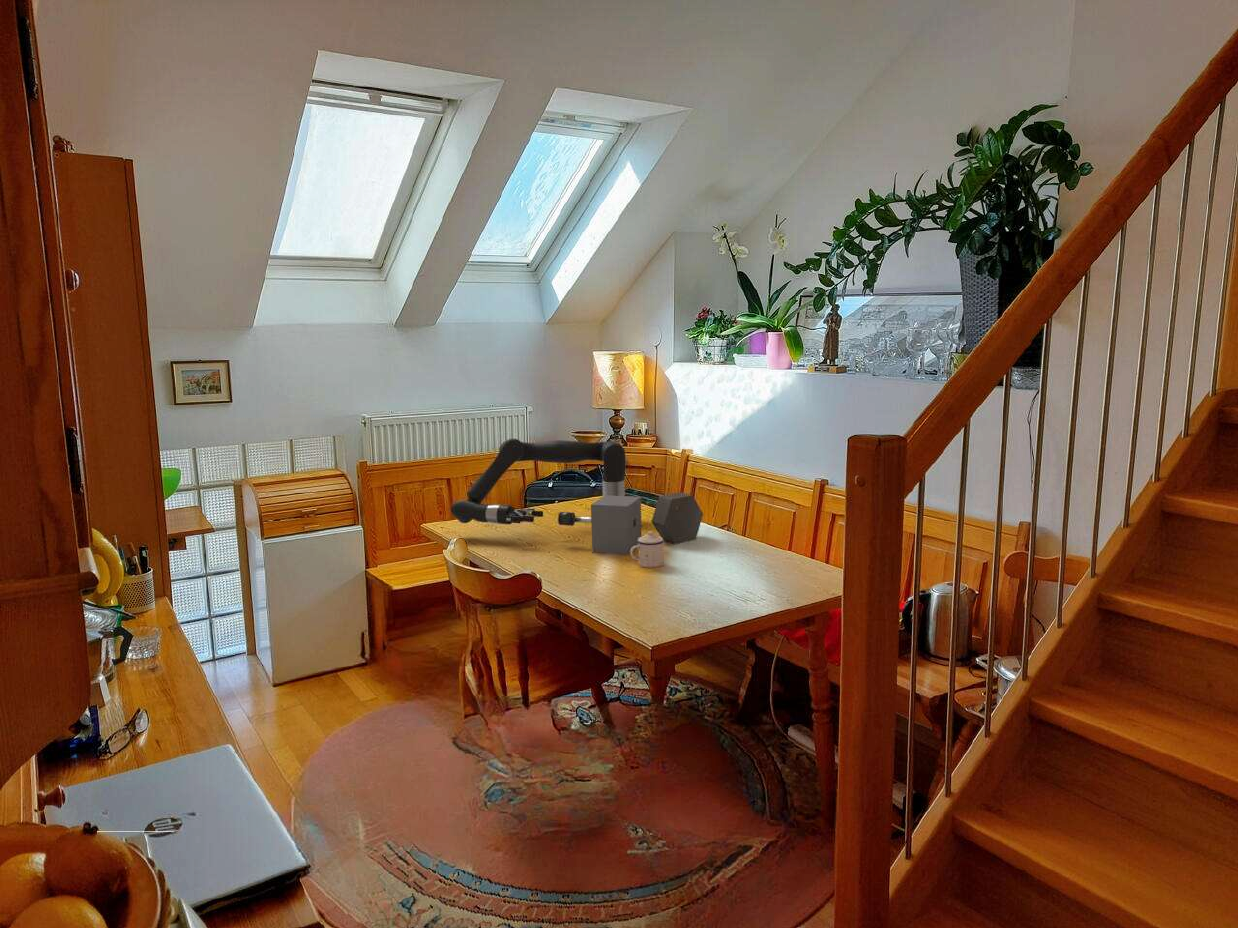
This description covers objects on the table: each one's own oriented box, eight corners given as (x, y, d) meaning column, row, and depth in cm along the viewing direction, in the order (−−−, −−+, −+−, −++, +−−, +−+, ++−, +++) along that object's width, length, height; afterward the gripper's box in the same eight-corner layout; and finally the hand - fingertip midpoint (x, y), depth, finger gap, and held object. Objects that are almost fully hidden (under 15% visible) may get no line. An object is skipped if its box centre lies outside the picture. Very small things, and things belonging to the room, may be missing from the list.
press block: (606, 541, 330) (605, 495, 327) (641, 543, 326) (640, 496, 323) (592, 552, 315) (590, 504, 312) (628, 554, 311) (627, 506, 308)
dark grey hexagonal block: (696, 520, 339) (673, 481, 329) (709, 524, 333) (686, 484, 323) (668, 549, 332) (644, 511, 323) (681, 554, 326) (657, 514, 317)
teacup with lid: (658, 559, 304) (657, 527, 302) (668, 566, 296) (667, 533, 294) (626, 563, 301) (625, 531, 299) (635, 570, 292) (634, 537, 290)
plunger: (563, 523, 329) (562, 510, 328) (610, 526, 323) (609, 513, 322) (558, 526, 324) (557, 513, 323) (605, 529, 318) (605, 516, 317)
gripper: (491, 508, 327) (530, 511, 321) (507, 500, 340) (545, 503, 335) (492, 528, 328) (530, 530, 323) (508, 519, 341) (546, 521, 336)
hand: (538, 516), depth 329 cm, fingers open, 8 cm apart
